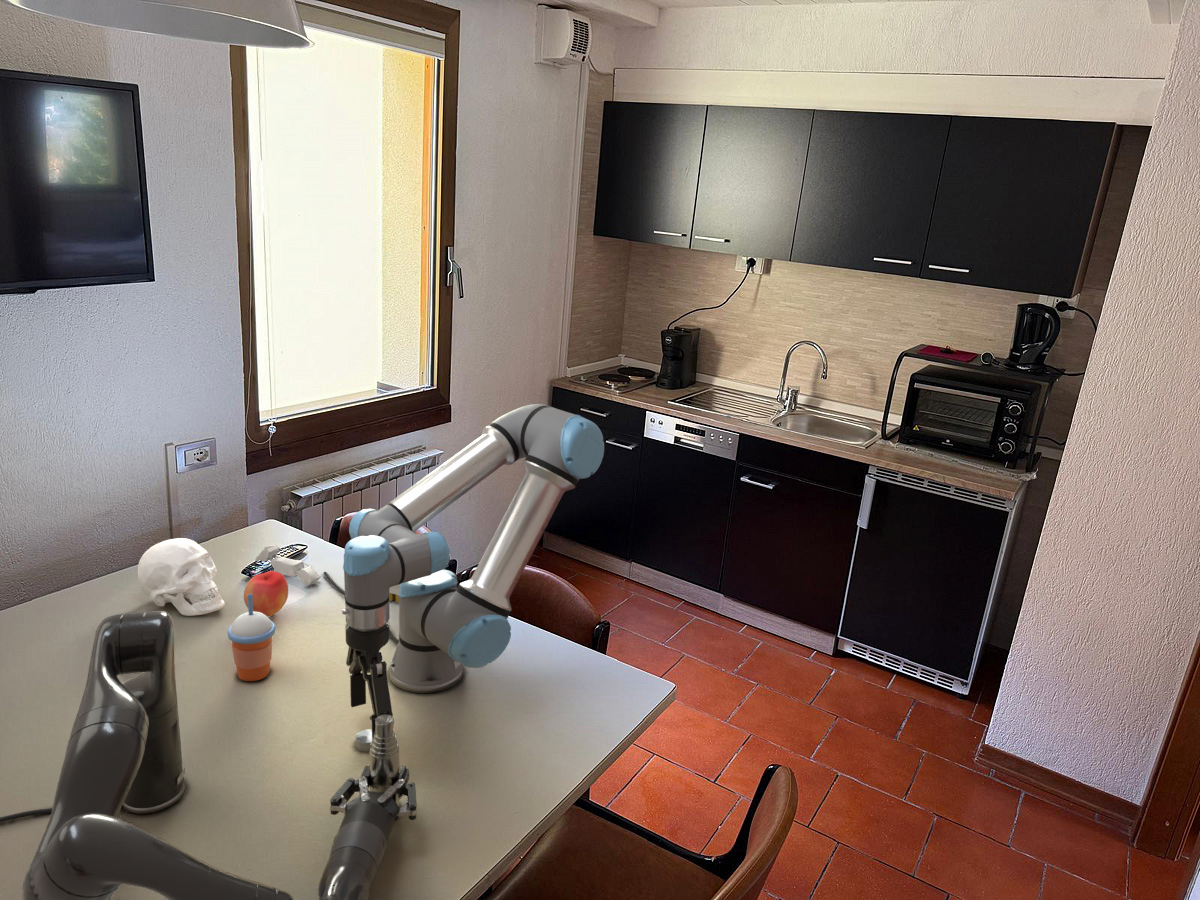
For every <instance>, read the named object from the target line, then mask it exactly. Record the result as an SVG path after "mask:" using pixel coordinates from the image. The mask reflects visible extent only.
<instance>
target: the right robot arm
mask: <svg viewBox="0 0 1200 900" xmlns="http://www.w3.org/2000/svg"><path fill="white" fill-rule="evenodd" d="M604 454H605V442H604V436H603V433H602V431H601V429H600V428H599V426H598V425H597V424H596V423H595V422H593V420H589V419H587V418H585V417H584V416H581V415H580V414H575V413H571V412H568V411H565V410H562V409H558V408H555V407H554V406H551V405H548V404H544V403H532V404H527V405H524V406H523V405H522V406H520V407H518V408H516V409H512V410H511V411H508V412H507V413H505V414H502V415H501V416H499V417H497V418H496V419H495V420H492V422H491V423H489V424H488V425H485V427H484V428H482V433H481V435H480V436H479V437H477V438H476V439H475V440H473V441H472V442H470V443H469V444H468V445H467V446H465V447H464V448H463V449H461V450H460V451H458V452H457V453H456V454H454V455H453V456H452V457H450V458H449V459H447V460H446V461H445V462H443V463H442V464H440V465H439V466H437V467H436V468H435V469H434V470H432V471H431V472H429V473H427V474H426V475H425V476H424V477H423V478H421V479H420V480H419V481H417V482H416V483H414V484H413V485H411V486H410V487H408V489H406V490H405V491H403V492H402V493H401V494H399V495H397V496H396V497H395V498H394V499H392V500H391V501H389V502H388V503H387V504H386V505H384V506H383V507H381V508H380V509H373V508H364V509H360V510H359V511H358V512H356V513H355V514H354V515H353V517H352V518H351V520H350V522H349V526H348V533H349V536H350V540H349V541H347V543H346V544H345V547H344V553H343V565H342V570H343V572H344V573H343V577H344V578H343V580H344V581H343V582H344V589H343V588H342V587H340V586H339V585H338V584H337V583H336V582H335V581H334V580H333V578H332V577H331V576H330V575H329V574H328V572H327V571H323V575H324V576H325V578H326V579H327V580H328V581H329V583H330V584H331V585H332V586H333V587H334V588H335V589H336V590H337V591H339V592H340V594H342V595H343V596H344V605H345V608H342V610H341V614H342V615H344V616H345V627H344V628H345V644H346V645H347V646H348V650H347V656H346V662H345V664H346V666H347V667H349V668H348V673H349V674H350V675H349V679H350V680H349V681H350V682H349V683H350V685H349V687H350V706H351V708H355V707H359V706H362V705H366V704H367V688H368V694H369V698H370V703H371V708H372V714H371V715H370V716H369V719H370V721H371V730H372V739H373V736H374V732H375V730H376V724H375V719H376V718H377V717H378V716H380V715H384V714H387V715H391V716H392V717H393V718H394V713H393V708H392V703H391V695H390V694H391V693H390V687H389V681H388V671H387V662H386V661H385V660H384V661H383V654H382V651H380V650H381V649H382V648H383V647H384V646H386V645H387V644H388V643H389V641H390V639H391V640H392V641H393V642H394V643H396V644H397V645H396V648H395V651H394V653H393V656H392V659H391V660H390V665H389V679H390V681H391V682H392V683H393V684H394V685H395V686H396V687H398V688H399V689H401V690H404V691H407V692H410V693H416V694H430V693H431V694H432V693H438V692H441V691H445V690H447V689H450V688H451V687H453V686H455V685H456V684H457V683H458V682H459V681H460V680H461V679H462V676H463V672H464V666H465V667H467V668H470V669H478V668H483V667H485V666H487V665H489V664H491V663H493V662H494V661H496V660H497V659H498V658H499V657H500V656H501V655H502V654H503V653H504V652H505V650H507V647H508V645H509V644H510V640H511V637H512V632H511V630H512V627H511V624H510V622H509V620H508V618H509V616H510V614H511V612H512V609H513V608H512V604H511V601H510V598H511V595H512V594H513V593H514V591H515V588H516V586H517V584H518V582H519V580H520V578H521V576H522V575H523V572H524V570H525V569H526V567H527V564H528V563H529V561H530V559H531V557H532V555H533V554H534V551H535V549H536V547H537V545H538V543H539V542H540V540H541V538H542V536H543V534H544V532H545V530H546V528H547V526H548V524H549V522H550V520H551V518H552V517H553V515H554V512H556V509H557V507H558V505H559V503H560V501H561V499H562V497H563V495H564V494H565V493H566V492H567V491H570V490H573V489H576V487H577V484H578V483H579V480H583V479H588V478H589V477H591V475H592V476H593V475H594V474H595V473H596V472H597V471H598V469H599V468H600V466H601V464H602V462H603V458H604ZM524 458H525V459H524ZM521 459H524V461H523V464H524V467H525V470H526V471H525V472H526V473H525V474H524V477H523V479H522V481H521V482H520V485H519V486H518V488H517V491H516V492H515V494H514V496H513V498H512V500H511V502H510V503H509V505H508V507H507V509H506V512H505V514H504V515H503V517H502V519H501V521H500V522H499V525H498V527H497V528H496V530H495V532H494V534H493V536H492V538H491V540H490V541H489V544H488V545H487V547H486V549H485V551H484V553H483V555H482V557H481V559H480V560H479V563H478V564H477V566H476V568H475V570H474V572H473V574H472V576H471V578H469V579H468V580H465V581H462V582H460V583H459V581H458V579H457V578H458V577H457V575H456V574H455V572H453V571H451V570H449V569H446V568H447V567H448V565H449V563H450V559H451V558H450V554H451V551H450V548H449V544H448V541H447V539H446V538H445V536H444V535H443V534H441V533H440V532H438V531H429V532H428V531H427V532H423V533H420V534H417V533H416V531H418V530H419V529H420V528H422V527H423V526H424V525H426V524H427V523H428V522H430V521H431V520H432V519H434V518H435V517H436V516H438V515H439V514H440V513H441V512H443V511H444V510H446V509H447V508H448V507H449V506H451V505H452V504H453V503H455V502H456V501H457V500H459V499H460V498H461V497H462V496H464V495H466V494H467V493H468V492H469V491H471V490H472V489H474V487H476V486H477V485H479V484H480V483H481V482H482V481H484V480H486V478H488V477H489V476H491V474H493V473H495V471H497V470H498V469H500V468H501V467H502V466H503V465H505V466H512V465H513V464H514V463H516V462H517V461H518V460H521ZM458 583H459V584H458ZM399 584H400V589H399V594H398V597H399V603H398V638H396V637H395V636H394V634H393V633H392V631H391V629H390V618H391V617H390V616H391V615H390V613H391V612H390V610H391V608H390V602H391V601H389V588H390V587H392V586H395V585H399Z"/></svg>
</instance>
